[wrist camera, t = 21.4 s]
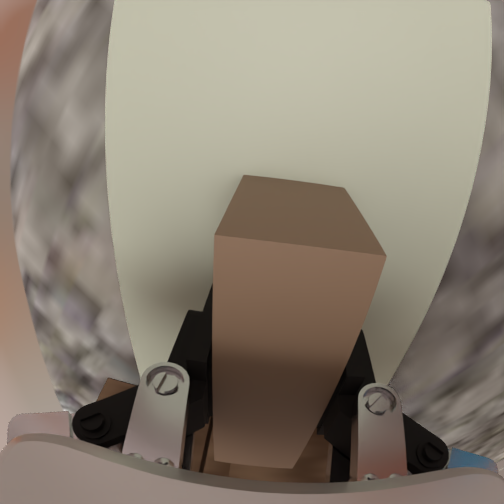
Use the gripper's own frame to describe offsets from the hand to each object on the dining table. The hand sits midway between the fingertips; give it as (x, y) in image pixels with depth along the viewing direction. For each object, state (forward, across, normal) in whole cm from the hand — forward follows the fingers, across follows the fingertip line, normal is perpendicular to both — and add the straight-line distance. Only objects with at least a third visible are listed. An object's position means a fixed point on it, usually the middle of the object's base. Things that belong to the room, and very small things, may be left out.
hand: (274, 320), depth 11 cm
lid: (+2, 0, -2) cm, 3 cm away
